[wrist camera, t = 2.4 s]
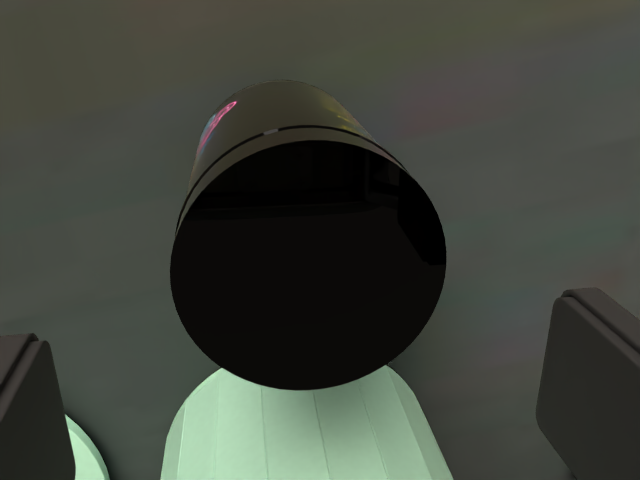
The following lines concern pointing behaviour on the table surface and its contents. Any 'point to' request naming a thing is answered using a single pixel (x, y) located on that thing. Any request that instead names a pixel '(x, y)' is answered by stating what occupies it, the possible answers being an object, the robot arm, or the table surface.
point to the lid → (86, 455)
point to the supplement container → (302, 243)
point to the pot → (302, 432)
